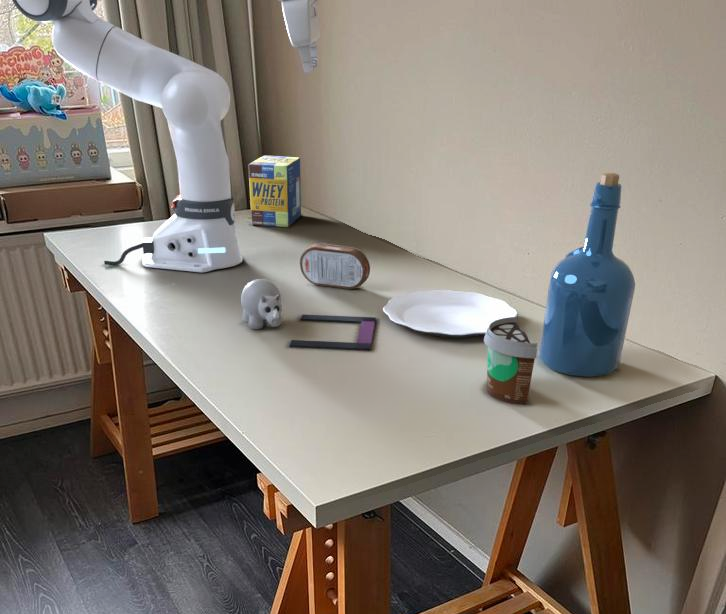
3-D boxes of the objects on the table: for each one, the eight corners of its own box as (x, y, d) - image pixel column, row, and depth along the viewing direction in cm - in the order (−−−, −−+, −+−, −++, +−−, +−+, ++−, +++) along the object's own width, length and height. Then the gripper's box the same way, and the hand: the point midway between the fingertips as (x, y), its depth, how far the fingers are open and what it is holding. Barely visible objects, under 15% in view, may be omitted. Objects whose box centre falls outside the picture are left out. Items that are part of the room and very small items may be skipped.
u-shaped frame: (289, 347, 134) (289, 344, 134) (302, 316, 148) (302, 314, 148) (370, 350, 133) (370, 348, 133) (375, 319, 147) (375, 317, 147)
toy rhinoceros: (256, 343, 135) (254, 295, 131) (238, 321, 145) (235, 276, 140) (295, 338, 138) (294, 291, 133) (275, 316, 147) (273, 272, 143)
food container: (471, 376, 125) (477, 316, 120) (509, 375, 125) (516, 315, 120) (488, 409, 114) (495, 345, 109) (529, 408, 115) (538, 344, 110)
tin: (370, 288, 163) (371, 247, 159) (365, 292, 161) (366, 251, 157) (304, 280, 168) (303, 240, 163) (298, 284, 165) (297, 244, 161)
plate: (442, 291, 163) (442, 282, 162) (542, 321, 148) (543, 312, 147) (356, 317, 148) (356, 308, 147) (458, 355, 132) (459, 344, 132)
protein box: (251, 225, 209) (247, 163, 201) (266, 212, 222) (263, 154, 214) (288, 227, 208) (287, 165, 200) (302, 215, 221) (300, 156, 213)
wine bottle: (630, 379, 125) (672, 182, 109) (550, 380, 124) (581, 182, 108) (601, 347, 137) (636, 166, 121) (527, 348, 136) (553, 165, 120)
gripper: (288, -12, 152) (301, 67, 159) (274, -11, 135) (288, 77, 142) (320, -17, 151) (331, 62, 159) (309, -17, 134) (322, 72, 141)
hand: (311, 69), depth 150 cm, fingers open, 8 cm apart
